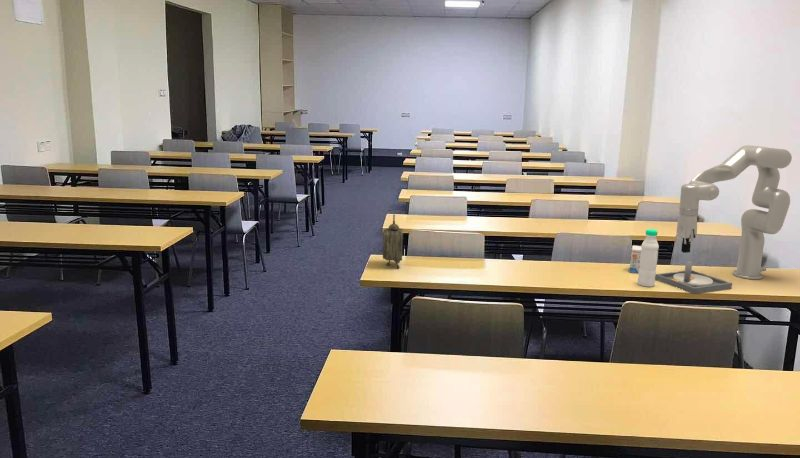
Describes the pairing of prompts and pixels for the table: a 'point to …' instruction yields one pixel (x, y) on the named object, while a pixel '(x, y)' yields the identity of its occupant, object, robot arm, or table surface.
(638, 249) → the ink box
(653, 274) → the water bottle
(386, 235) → the ribbed lidded container
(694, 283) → the dial
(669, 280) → the gray square tray
